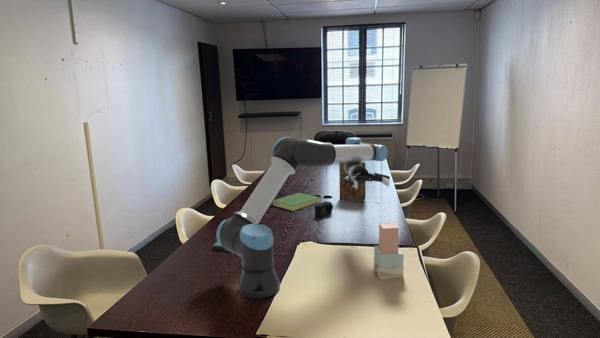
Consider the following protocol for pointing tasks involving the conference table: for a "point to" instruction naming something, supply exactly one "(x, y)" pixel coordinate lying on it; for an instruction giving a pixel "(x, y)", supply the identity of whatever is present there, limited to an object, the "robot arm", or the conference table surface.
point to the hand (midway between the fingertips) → (372, 184)
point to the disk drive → (218, 247)
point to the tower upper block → (388, 258)
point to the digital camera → (323, 209)
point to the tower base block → (388, 271)
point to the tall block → (388, 237)
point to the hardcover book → (295, 201)
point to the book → (350, 187)
